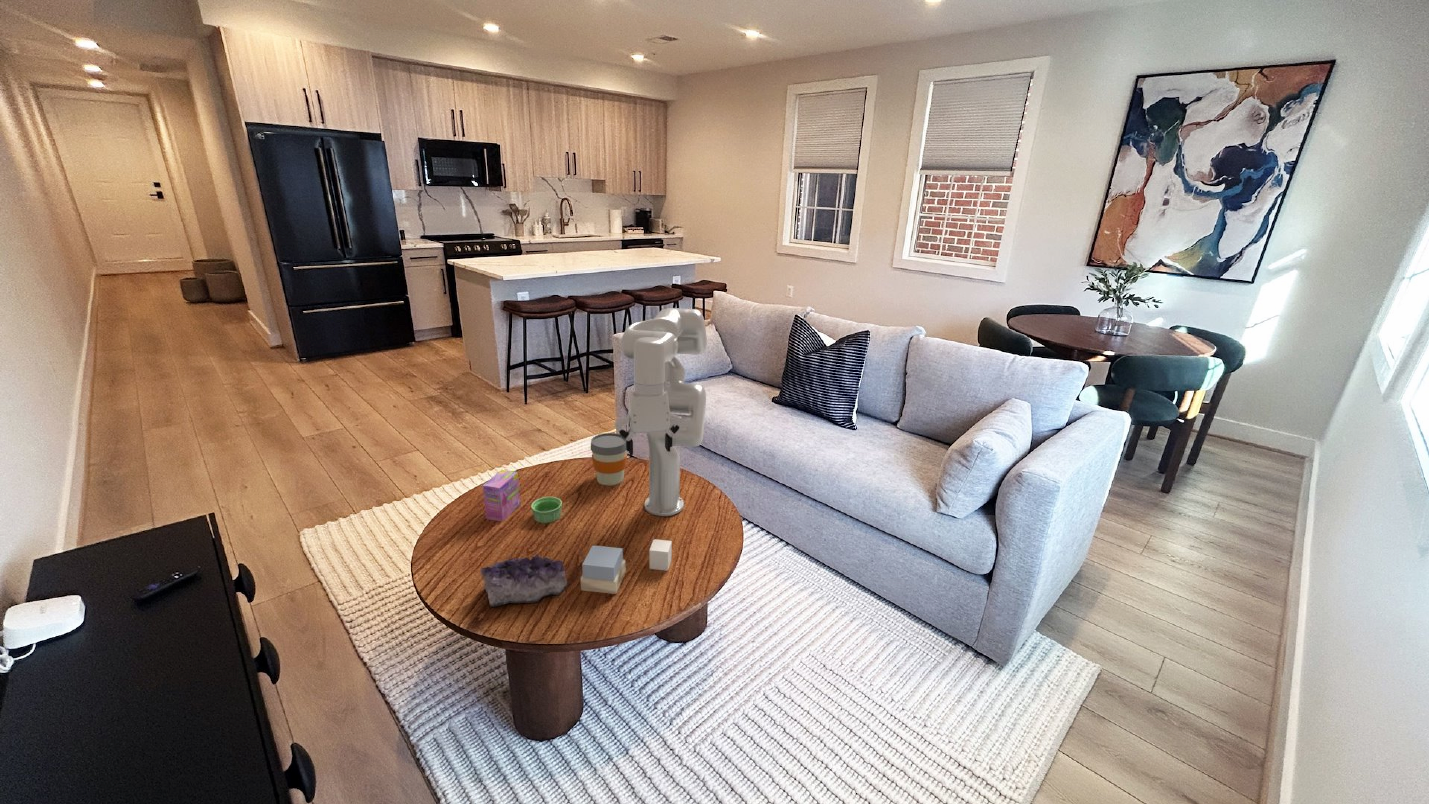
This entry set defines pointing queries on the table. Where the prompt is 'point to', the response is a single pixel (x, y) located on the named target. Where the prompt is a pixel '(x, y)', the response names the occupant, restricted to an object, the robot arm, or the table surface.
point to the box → (501, 495)
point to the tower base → (604, 582)
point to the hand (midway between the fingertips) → (649, 451)
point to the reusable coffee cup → (609, 457)
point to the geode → (523, 580)
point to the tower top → (602, 563)
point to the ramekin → (546, 509)
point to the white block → (660, 554)
